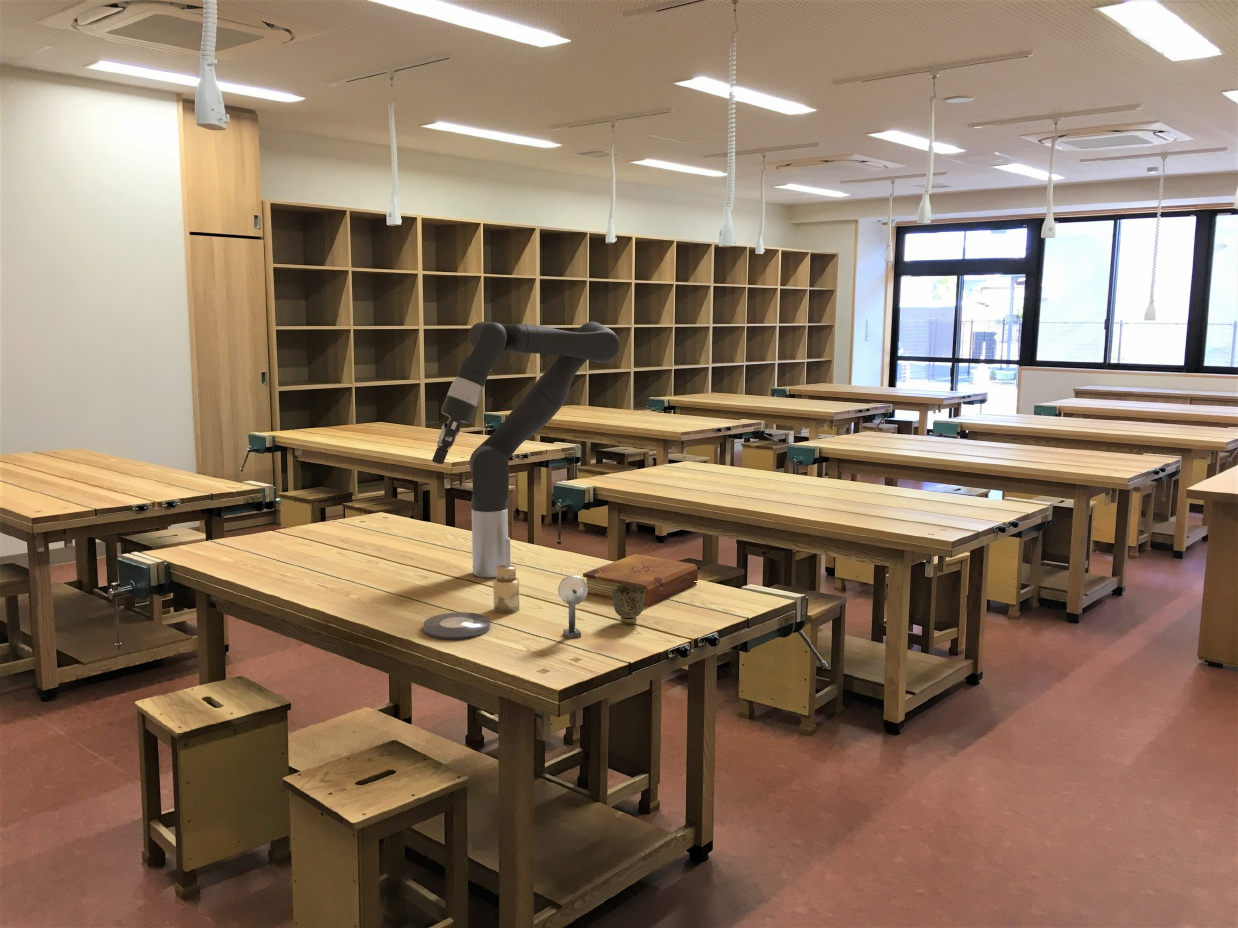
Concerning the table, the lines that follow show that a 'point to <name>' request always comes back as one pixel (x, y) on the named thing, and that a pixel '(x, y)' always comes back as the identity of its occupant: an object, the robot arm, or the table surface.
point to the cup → (628, 602)
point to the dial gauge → (572, 600)
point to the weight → (506, 590)
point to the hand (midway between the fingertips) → (437, 463)
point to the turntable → (456, 626)
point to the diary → (642, 577)
